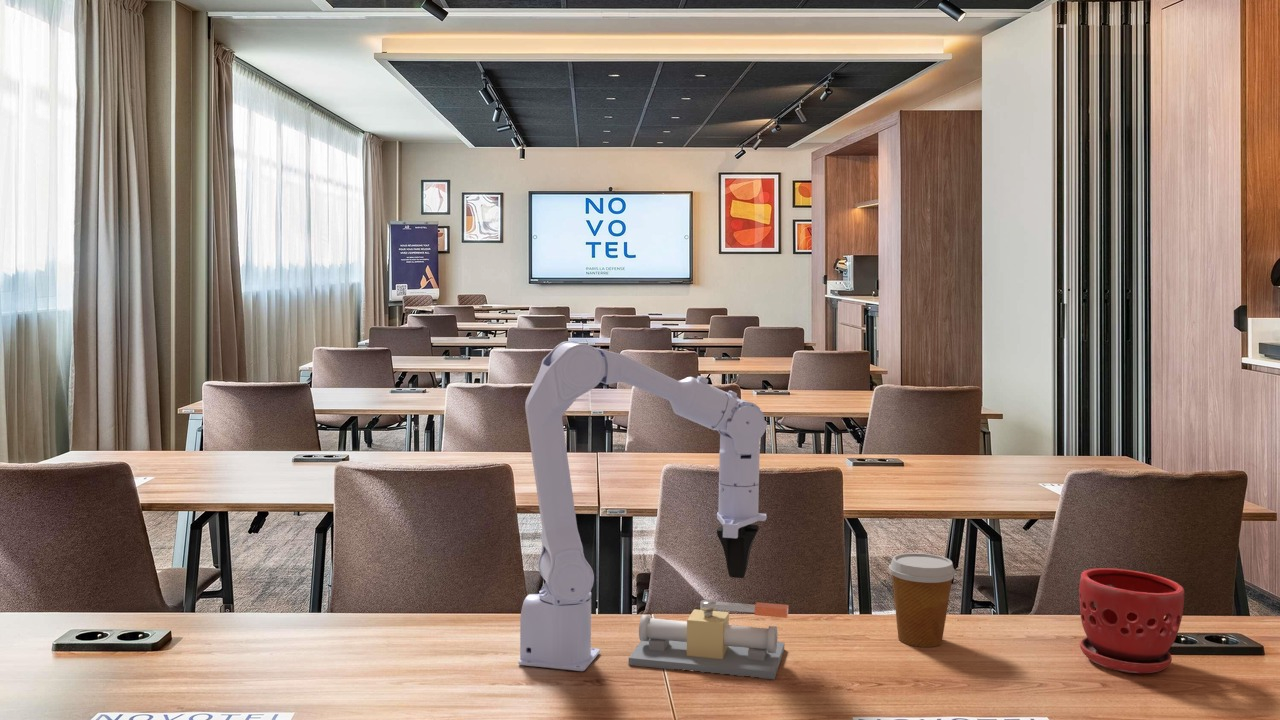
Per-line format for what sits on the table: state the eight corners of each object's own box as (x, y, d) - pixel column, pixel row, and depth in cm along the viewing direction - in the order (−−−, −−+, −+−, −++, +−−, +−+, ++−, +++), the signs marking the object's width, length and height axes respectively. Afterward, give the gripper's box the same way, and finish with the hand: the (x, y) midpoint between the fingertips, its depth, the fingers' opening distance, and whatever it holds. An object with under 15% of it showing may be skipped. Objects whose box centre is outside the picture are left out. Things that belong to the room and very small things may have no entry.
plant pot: (1131, 686, 135) (1134, 596, 134) (1056, 653, 147) (1059, 571, 146) (1203, 673, 140) (1206, 586, 139) (1125, 642, 152) (1128, 562, 151)
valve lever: (699, 610, 143) (699, 602, 143) (701, 606, 145) (702, 597, 145) (786, 618, 140) (786, 609, 140) (788, 613, 142) (788, 604, 142)
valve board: (628, 664, 141) (628, 616, 141) (649, 636, 153) (649, 591, 152) (774, 679, 136) (775, 629, 136) (784, 649, 148) (785, 602, 147)
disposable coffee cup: (907, 653, 146) (910, 570, 146) (875, 632, 156) (877, 554, 155) (966, 648, 149) (969, 566, 148) (931, 627, 158) (933, 550, 157)
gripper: (759, 494, 139) (757, 592, 140) (772, 476, 153) (771, 565, 154) (708, 491, 141) (707, 588, 142) (726, 473, 155) (724, 562, 156)
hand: (737, 576), depth 148 cm, fingers closed
